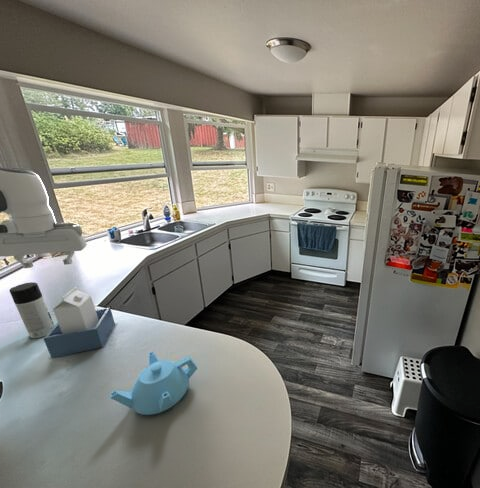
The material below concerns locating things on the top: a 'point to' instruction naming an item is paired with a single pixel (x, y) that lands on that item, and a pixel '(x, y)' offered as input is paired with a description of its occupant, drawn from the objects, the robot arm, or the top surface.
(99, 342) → the tub
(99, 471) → the top surface
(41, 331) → the spray can
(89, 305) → the milk carton
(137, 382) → the teapot
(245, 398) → the top surface
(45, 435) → the top surface
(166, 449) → the top surface
